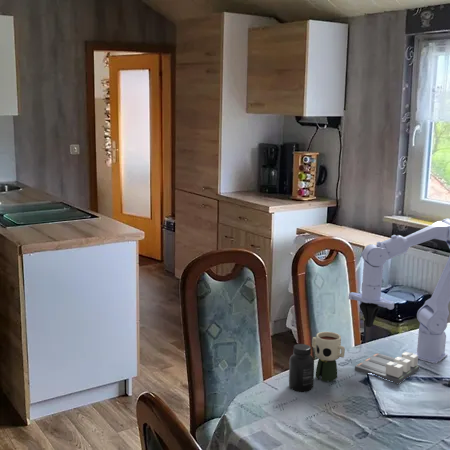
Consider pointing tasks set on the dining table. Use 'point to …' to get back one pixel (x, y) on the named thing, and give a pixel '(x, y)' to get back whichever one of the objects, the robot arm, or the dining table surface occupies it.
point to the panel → (383, 367)
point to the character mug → (327, 354)
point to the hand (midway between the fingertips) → (369, 326)
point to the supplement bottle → (301, 369)
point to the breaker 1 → (394, 369)
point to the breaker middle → (403, 363)
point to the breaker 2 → (411, 358)
